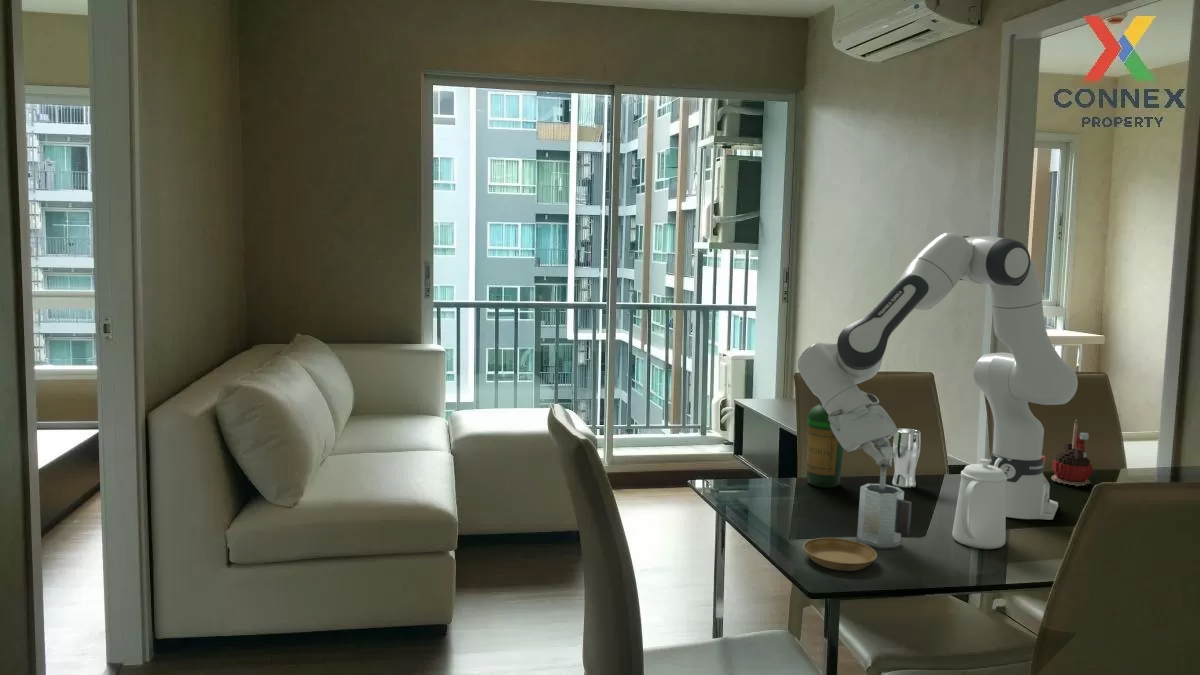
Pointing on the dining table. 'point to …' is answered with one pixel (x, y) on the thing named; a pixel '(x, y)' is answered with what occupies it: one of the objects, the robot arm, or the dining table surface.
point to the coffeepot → (981, 506)
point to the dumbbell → (884, 464)
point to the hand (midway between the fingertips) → (887, 459)
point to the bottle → (822, 450)
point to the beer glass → (905, 456)
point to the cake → (1073, 462)
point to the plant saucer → (839, 553)
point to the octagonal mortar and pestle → (883, 517)
